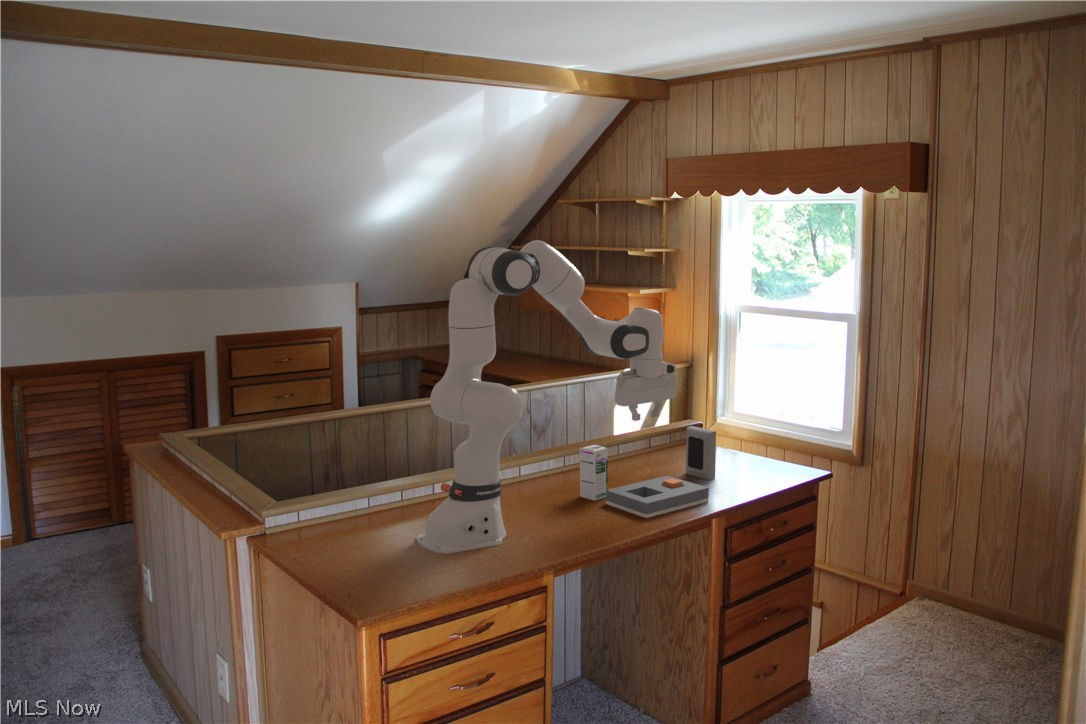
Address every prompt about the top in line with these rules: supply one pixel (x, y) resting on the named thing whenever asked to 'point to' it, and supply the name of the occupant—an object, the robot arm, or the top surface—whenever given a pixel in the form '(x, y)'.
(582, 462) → the syrup box
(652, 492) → the grey two-pocket tray
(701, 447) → the grey upright rectangular block
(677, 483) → the orange block
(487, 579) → the top surface
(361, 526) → the top surface
